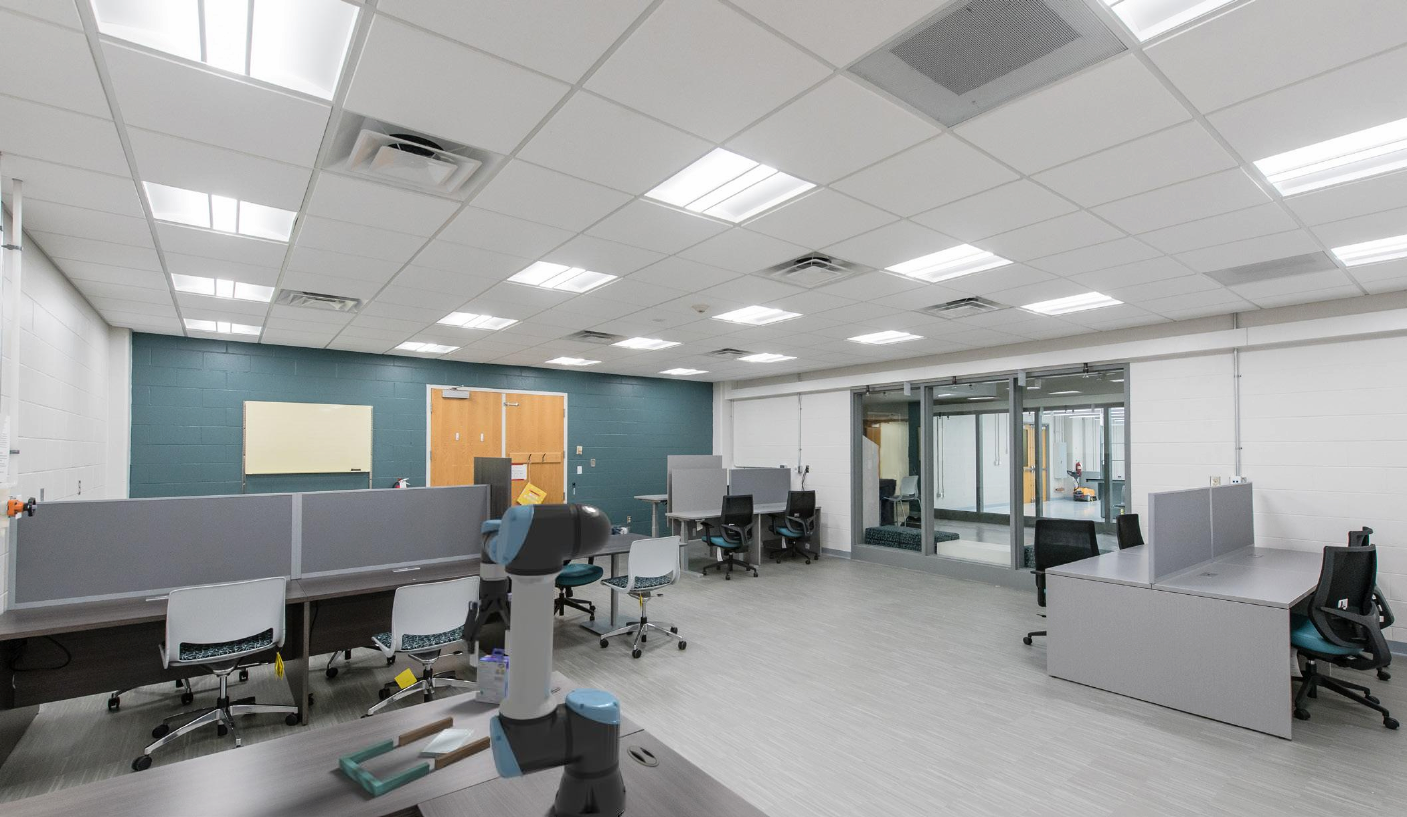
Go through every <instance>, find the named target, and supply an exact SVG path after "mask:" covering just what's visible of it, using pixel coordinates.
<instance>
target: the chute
mask: <svg viewBox="0 0 1407 817" xmlns="http://www.w3.org/2000/svg"><path fill="white" fill-rule="evenodd" d="M452 727H454V717H452V716H449V717H448V716H447V717H446V718H443V719H440V720H437V721H435V722H433V723H429V724H427V725H424V726H421V727H419V728H416V729H414V730H410V731H408V732H405V733H402V734H400V735H398V746H400V747H403V746H405V745H408V744H412V743H413V742H416V741H418V740H421V739H424V738H426V737H430V736H432V735H435V734H437V733H439V732H440V733H441V732H442V731H443V730H444V729H451V728H452ZM488 747H489V748H490V747H491V737H490V736H485V737H482V738H480V739H477V740H475V741H473V742H469V743H467V744H464V745H463V746H462V747H461V748H458V749H456V750H453V751H451V752H449V753H446V754H444V755H442V756H439V757H434V763H433V765H434V766H433V767H434V769H435V770H437V771H438V770H440V769H443V768H446V767H447V766H450V765H452V764H454V763H457V762H459V761H462V760H463V759H465V758H468V757H470V756H473V755H475V754H477V753H480V752H481V751H484V750H486V749H489V748H488ZM393 750H394V740H393V739H392V738H390V739H386V740H383V741H381V742H379V743H376V744H373V745H370V746H368V747H364V748H363V749H359V750H358V751H355V752H352V753H349V754H346V755H343V756H341V757H339V758H338V768H339V770H341V771H342V772H343V773H345V774H346V775H348V776H349V777H350V779H352V780H354V781H355V782H356V783H357V784H358V785H360V786H361V787H363V788H364V789H365V790H366V791H367V792H369V793H370V794H371V795H372V796H374V797H375V798H377V797H380V796H382V795H384V794H387V793H388V792H391V791H392V790H395V789H397V788H400V787H401V786H404V785H408V784H409V783H411V782H414V781H416V780H418V779H420V778H423V777H425V776H427V775H429V774H430V763H429V762H428V761H425V762H424V763H421V764H418V765H416V766H414V767H410V768H409V769H407V770H404V771H402V772H399V773H397V774H395V775H393V776H390V777H387V778H385V779H383V780H379V779H377V778H376V777H375V776H373V775H372V774H371V773H369V772H368V771H366V770H365V769H364V768H363V767H361V766H360V765H359V763H362V762H365V761H367V760H370V759H372V758H374V757H377V756H381V755H383V754H385V753H388V752H391V751H393ZM479 751H480V752H479Z"/></svg>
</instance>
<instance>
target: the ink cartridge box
mask: <svg viewBox="0 0 1407 817" xmlns="http://www.w3.org/2000/svg"><path fill="white" fill-rule="evenodd" d="M495 652H496V653H495ZM497 652H499V653H500V654H499V653H497ZM504 654H505V648H504V649H503V648H496V647H495V648H493V650H492V653H491V654H490V655H489V654H486V655H484V656H482V657H481V658H478V667H476V683H475V684H476V686H475V702H478V703H487V704H489V703H490V704H496V705H497V704H498V705H500V704H501V702H502V701H503V700H504V699H505V698H506V697H507V696H508V671H509V656H504ZM476 691H480V692H476Z"/></svg>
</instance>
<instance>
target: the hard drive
mask: <svg viewBox="0 0 1407 817" xmlns="http://www.w3.org/2000/svg"><path fill="white" fill-rule="evenodd" d="M474 734H475V730H473V729H460V728H456V729H455V728H447V729H444V730H442V731H440V733H439V734H438V735H437V736H436V737H435V738H433V740H431V741H430V742H429V743H428V744H427V745H426V746H425V747H424V748H423V749H422V750H421V751H420V752H419V757H425V758H437V757H439V756H442V755H444V754H446V753H449V752H451V751H453V750H456V749H458V748H461V747H463V746H465V745H466V743H467V742H468V741H469V740H470V739H471V738H472V737H473V735H474ZM469 738H470V739H469Z"/></svg>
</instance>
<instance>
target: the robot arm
mask: <svg viewBox="0 0 1407 817" xmlns="http://www.w3.org/2000/svg"><path fill="white" fill-rule="evenodd" d="M612 531H613V530H612V523H611V521H610V518H608V516H607V514H606V513H605V512H604V511H603V510H601V509H599V508H598V507H596V506H594V505H591V504H589V503H588V504H587V503H584V502H583V503H582V502H571V503H528V504H521V505H514V506H510V507H508V508H507V509H506V511H504V514H503V516H502V518H501V519H489V520H485V521H483V523H482V524H481V532H480V536H481V540H480V568H479V569H480V570H479V572H480V573H479V576H480V579H479V590H478V591H479V594H480V595H479V598H478V600H476V601H475V600H474V601H473V600H469V602H468V611H467V615H466V617H465V622H464V625H463V628H462V633H461V636H460V640H463V641H464V642H467V654H469V665H470V666H472V667H474V668H477V667H478V660H479V646H480V645H479V644H480V643H479V640H477V639H478V638H479V635H480V633H481V632H482V629H483V626H484V625H485V624H486V621H487V619H488V618H489V617H490V615H491V614H494V613H496V612H498V613H500V616H501V618H502V619H503V621H504V623H505V625H506V627H507V629H506V630H505V633H504V649H505V650H504V654H505V655H507V656H508V657H509V671H508V696H507V697H506V698H505V699H504V700H503V701H502V702H501V704H499V705H498V708H499V709H498V715H494V716H492V717H490V719H489V734H490V735H489V737H490V746H491V749H492V755H493V761H494V766H495V770H496V771H497V774H498V776H499V777H500V778H502V779H504V780H507V779H508V780H509V779H511V778H512V779H514V778H517V777H520V778H523V777H524V776H528V775H531V774H532V775H533V774H535V773H539V772H543V771H547V770H552V769H556V768H560V767H561V768H562V767H563V772H562V775H561V778H560V782H559V786H558V789H557V791H556V793H555V796H554V814H556V815H557V816H556V815H555V816H556V817H617V816H618V815H620V814H621V813H622V811H623V810H624V809H625V810H626V808H627V796H628V795H627V789H626V786H625V783H624V778H623V775H622V772H621V768H620V743H621V742H620V738H621V737H620V736H621V722H622V718H621V705H620V701H619V700H618V698H617V697H616V696H615V695H614V694H612V693H610V692H608V691H604V690H602V689H597V688H579V689H575V690H572V691H569V692H568V693H567V694H566V697H565V698H564V702H563V703H562V702H561V703H559V700H558V698H557V696H555V695H554V694H553V693H552V675H553V674H552V671H553V650H554V648H553V644H554V622H555V620H554V619H555V618H554V616H555V614H554V613H555V591H556V590H555V588H556V579H557V577H558V576H559V575H560V574H561V573H562V572H563V570H564V561H565V560H574V559H575V560H576V559H583V558H586V557H587V558H588V557H590V556H593V555H596V554H598V553H600V552H601V551H602V550H604V549H605V548H606V547H607V545H608V544H609V542H610V540H611V536H612ZM509 578H510V579H511V591H510V592H509V593H508V591H509V580H510V579H509ZM506 603H508V606H509V609H508V606H507V605H506ZM509 611H510V612H509ZM625 807H626V808H625ZM625 810H624V811H625ZM622 814H623V813H622ZM622 814H621V815H622ZM621 815H620V816H621Z"/></svg>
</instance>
